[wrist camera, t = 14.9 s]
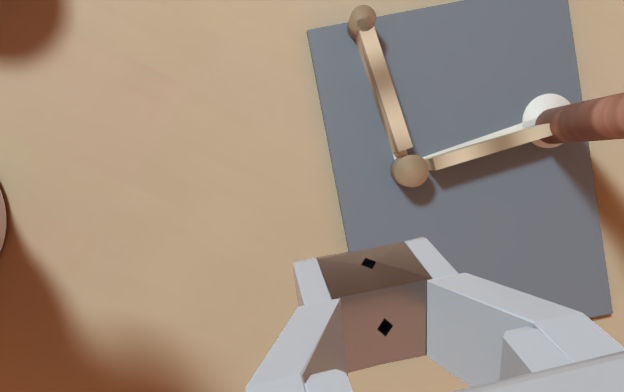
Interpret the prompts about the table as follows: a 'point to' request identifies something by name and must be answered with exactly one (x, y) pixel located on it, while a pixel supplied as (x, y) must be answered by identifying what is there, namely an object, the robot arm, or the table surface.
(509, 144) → the brown wooden l-shaped piece
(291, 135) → the table surface
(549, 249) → the board
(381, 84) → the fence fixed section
